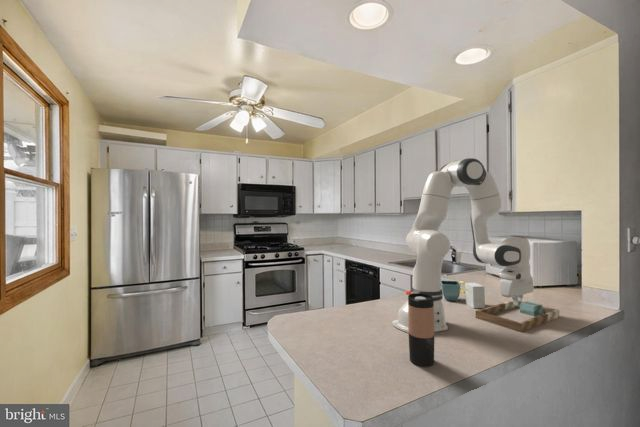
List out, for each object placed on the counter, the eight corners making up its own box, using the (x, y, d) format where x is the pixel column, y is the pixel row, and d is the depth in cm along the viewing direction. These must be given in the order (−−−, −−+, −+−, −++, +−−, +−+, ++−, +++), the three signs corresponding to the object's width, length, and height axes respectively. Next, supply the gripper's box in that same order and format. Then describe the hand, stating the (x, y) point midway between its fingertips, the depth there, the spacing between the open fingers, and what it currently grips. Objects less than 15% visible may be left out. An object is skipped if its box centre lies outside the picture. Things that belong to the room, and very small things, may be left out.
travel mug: (428, 354, 94) (427, 293, 94) (439, 367, 87) (438, 299, 87) (405, 355, 94) (404, 293, 94) (413, 367, 86) (412, 300, 86)
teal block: (533, 316, 127) (533, 306, 127) (519, 312, 132) (519, 302, 132) (542, 314, 129) (542, 304, 129) (528, 310, 135) (528, 301, 135)
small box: (485, 308, 138) (484, 286, 138) (473, 308, 138) (473, 286, 139) (476, 303, 146) (476, 282, 146) (465, 303, 146) (464, 282, 147)
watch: (457, 291, 170) (456, 281, 170) (460, 291, 171) (460, 280, 171) (465, 293, 164) (464, 282, 165) (469, 292, 165) (468, 282, 166)
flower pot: (442, 301, 150) (442, 284, 150) (440, 296, 159) (440, 280, 159) (461, 302, 148) (460, 285, 148) (458, 297, 156) (457, 281, 156)
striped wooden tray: (520, 332, 111) (520, 324, 111) (475, 317, 126) (475, 310, 126) (559, 317, 126) (559, 310, 126) (514, 305, 141) (514, 299, 141)
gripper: (522, 269, 135) (522, 299, 135) (496, 273, 125) (496, 306, 125) (538, 272, 129) (537, 303, 129) (512, 276, 119) (512, 310, 119)
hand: (517, 304), depth 127 cm, fingers closed
